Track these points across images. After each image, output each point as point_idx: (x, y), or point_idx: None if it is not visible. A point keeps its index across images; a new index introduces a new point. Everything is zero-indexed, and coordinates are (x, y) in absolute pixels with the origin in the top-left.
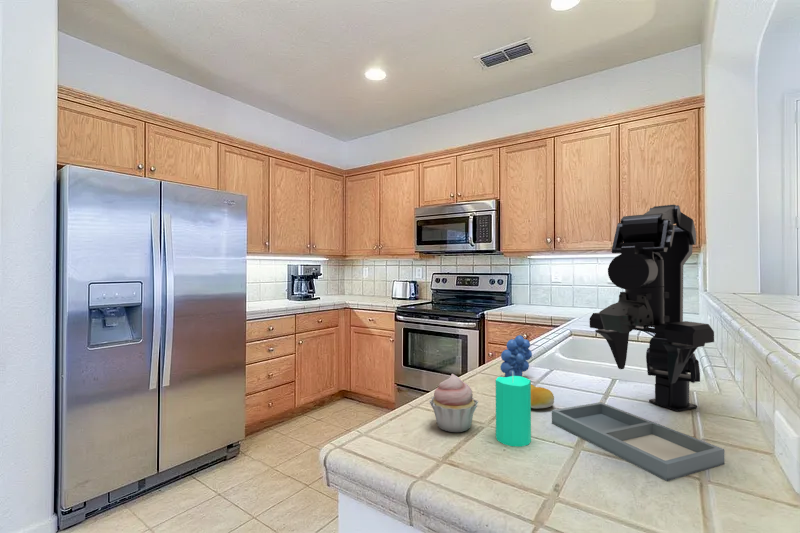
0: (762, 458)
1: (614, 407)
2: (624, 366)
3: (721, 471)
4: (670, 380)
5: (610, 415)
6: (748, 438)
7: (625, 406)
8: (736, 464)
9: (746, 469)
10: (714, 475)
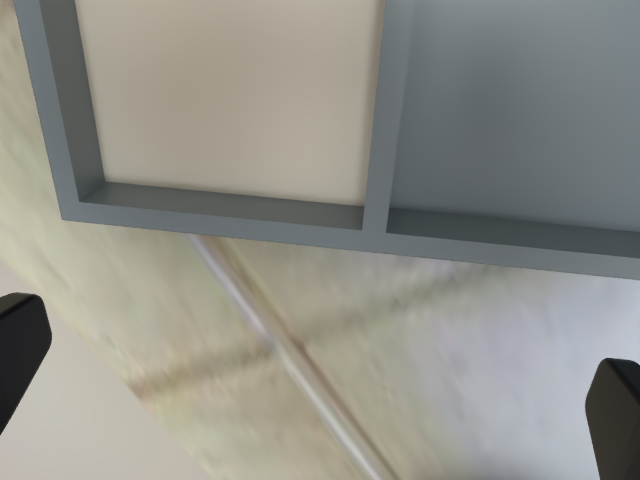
0: (111, 346)
1: (609, 275)
2: (590, 428)
3: None
4: (3, 302)
5: (608, 234)
6: (221, 451)
7: None
8: (96, 238)
9: (62, 227)
10: None
